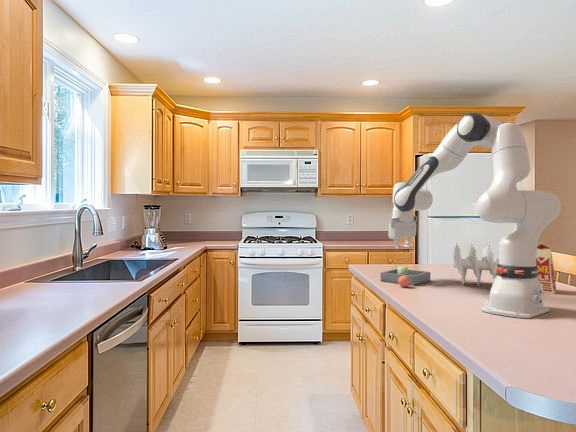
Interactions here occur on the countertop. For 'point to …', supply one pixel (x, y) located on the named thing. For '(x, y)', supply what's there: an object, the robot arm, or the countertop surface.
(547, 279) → the milk carton
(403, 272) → the cucumber chunk
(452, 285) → the countertop surface
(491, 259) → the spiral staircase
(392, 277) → the bin
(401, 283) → the tomato ball
